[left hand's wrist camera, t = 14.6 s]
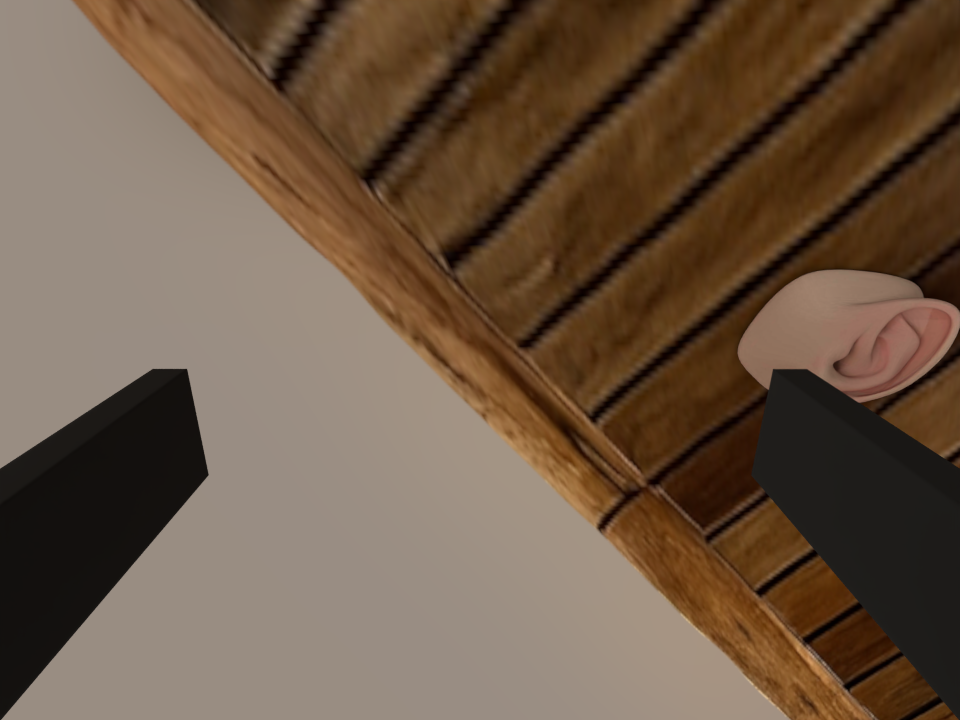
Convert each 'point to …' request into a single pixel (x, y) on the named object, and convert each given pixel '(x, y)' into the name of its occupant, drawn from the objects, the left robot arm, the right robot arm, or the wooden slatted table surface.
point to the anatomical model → (850, 332)
